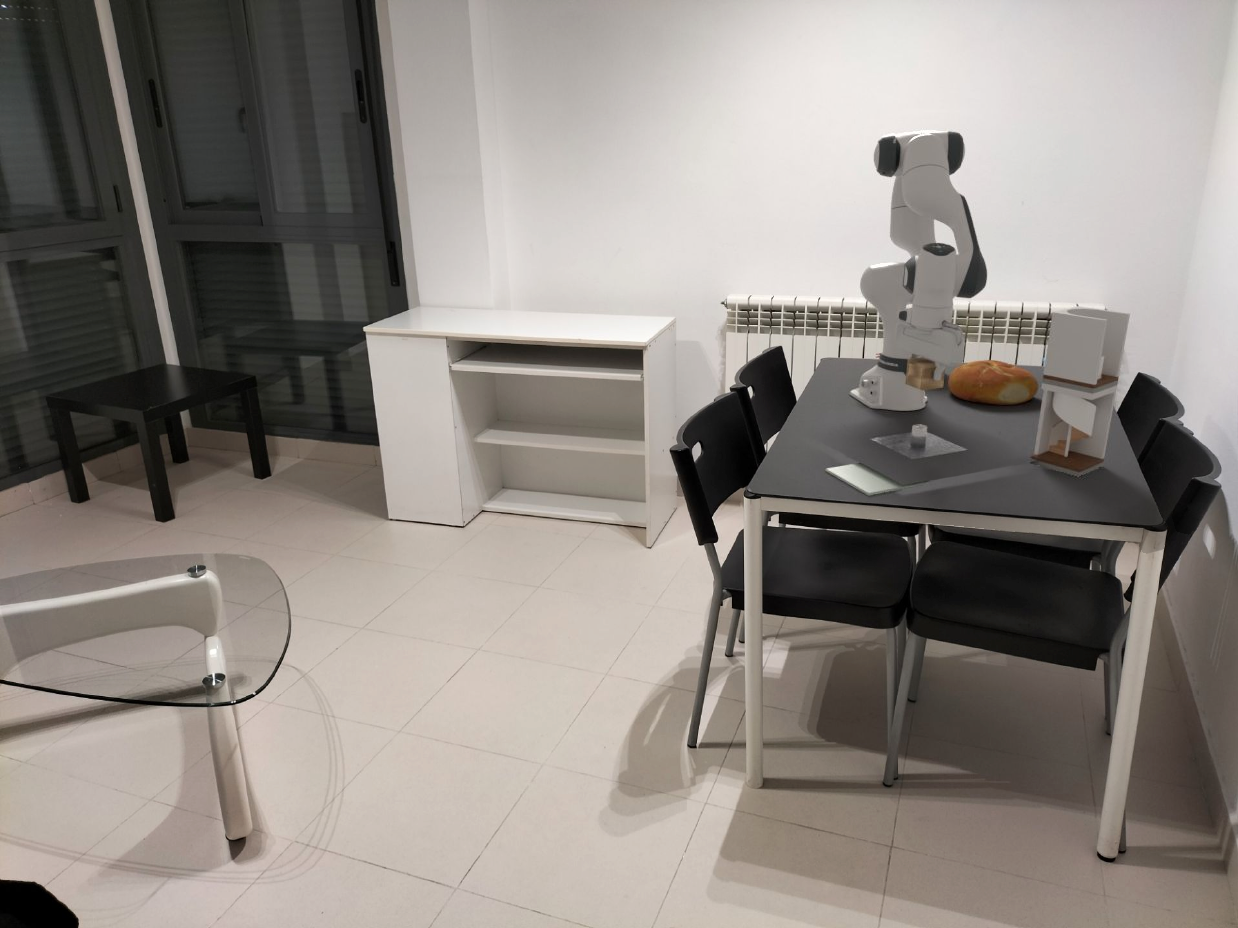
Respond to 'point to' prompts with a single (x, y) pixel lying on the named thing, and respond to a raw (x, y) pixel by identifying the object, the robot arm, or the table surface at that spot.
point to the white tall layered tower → (1079, 388)
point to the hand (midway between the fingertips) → (925, 375)
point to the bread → (992, 383)
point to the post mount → (918, 443)
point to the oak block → (922, 374)
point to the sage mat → (868, 479)
